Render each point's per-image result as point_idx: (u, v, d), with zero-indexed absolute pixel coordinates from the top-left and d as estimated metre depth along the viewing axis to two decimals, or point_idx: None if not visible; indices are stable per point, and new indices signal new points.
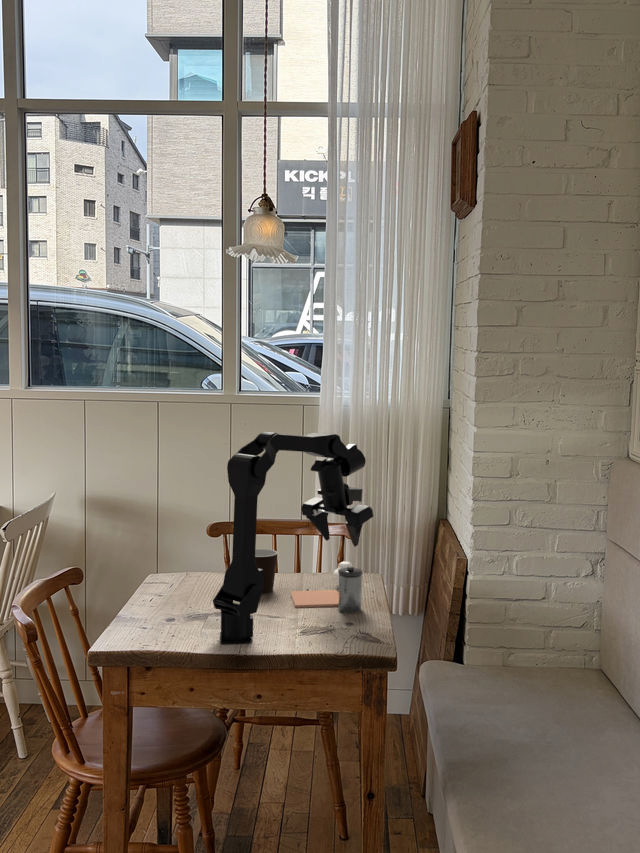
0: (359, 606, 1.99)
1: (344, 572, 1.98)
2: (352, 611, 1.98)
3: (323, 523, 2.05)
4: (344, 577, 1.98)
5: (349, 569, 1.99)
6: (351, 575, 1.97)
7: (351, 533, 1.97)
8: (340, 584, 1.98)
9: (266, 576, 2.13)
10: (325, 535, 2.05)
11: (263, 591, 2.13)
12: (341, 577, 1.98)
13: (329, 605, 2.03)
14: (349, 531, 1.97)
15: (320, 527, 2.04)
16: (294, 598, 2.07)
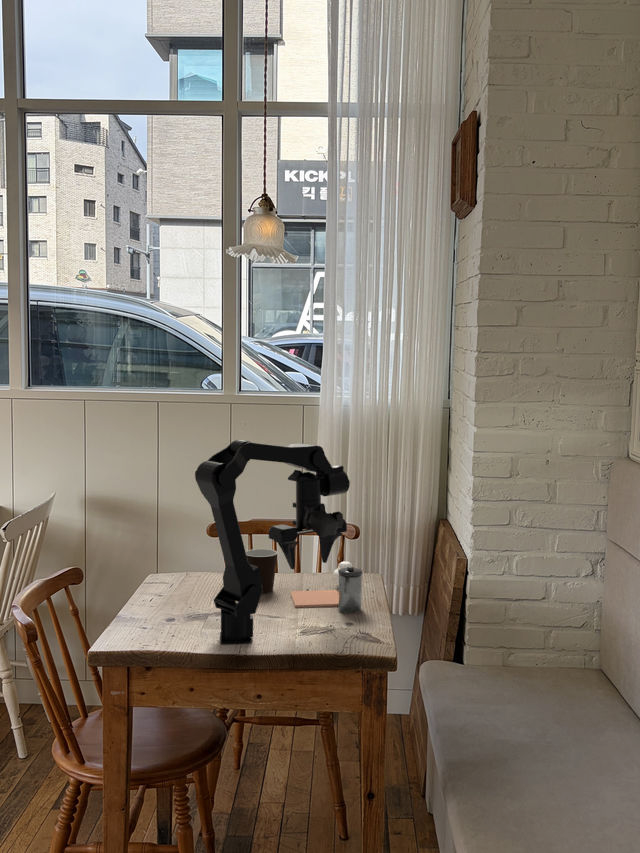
0: (359, 606, 1.99)
1: (344, 572, 1.98)
2: (352, 611, 1.98)
3: (324, 543, 1.94)
4: (344, 577, 1.98)
5: (349, 569, 1.99)
6: (351, 575, 1.97)
7: None
8: (340, 584, 1.98)
9: (266, 576, 2.13)
10: (322, 555, 1.94)
11: (263, 591, 2.13)
12: (341, 577, 1.98)
13: (329, 605, 2.03)
14: None
15: (320, 544, 1.95)
16: (294, 598, 2.07)
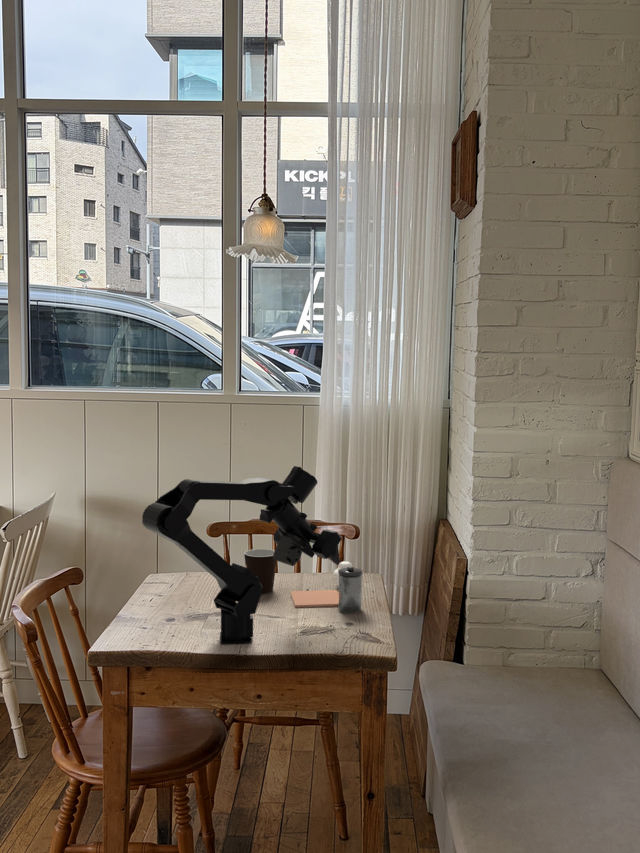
0: (359, 606, 1.99)
1: (344, 572, 1.98)
2: (352, 611, 1.98)
3: None
4: (344, 577, 1.98)
5: (349, 569, 1.99)
6: (351, 575, 1.97)
7: None
8: (340, 584, 1.98)
9: (266, 576, 2.13)
10: None
11: (263, 591, 2.13)
12: (341, 577, 1.98)
13: (329, 605, 2.03)
14: None
15: None
16: (294, 598, 2.07)
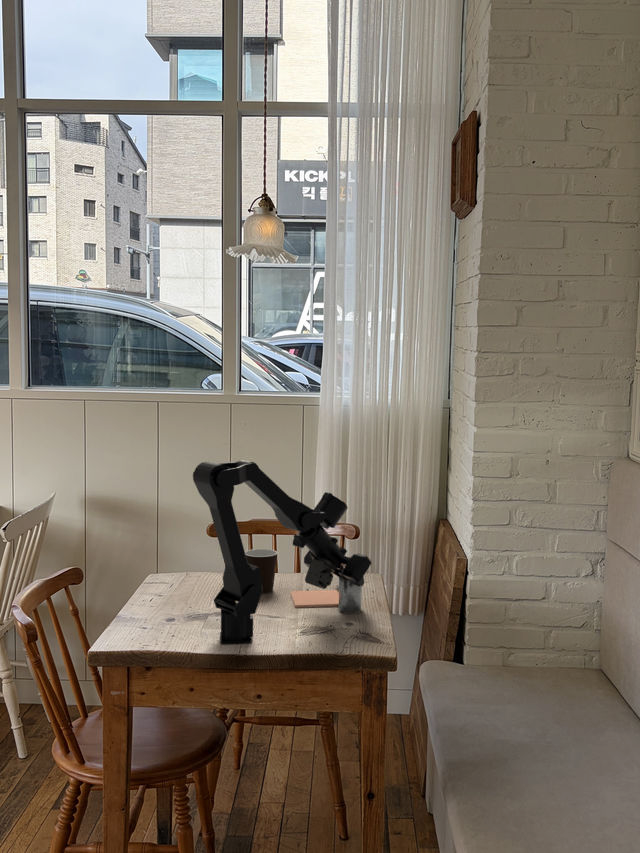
0: (359, 606, 1.99)
1: None
2: (352, 611, 1.98)
3: None
4: None
5: None
6: None
7: None
8: (341, 584, 1.98)
9: (266, 576, 2.13)
10: None
11: (263, 591, 2.13)
12: (341, 577, 1.98)
13: (329, 605, 2.03)
14: None
15: None
16: (294, 598, 2.07)
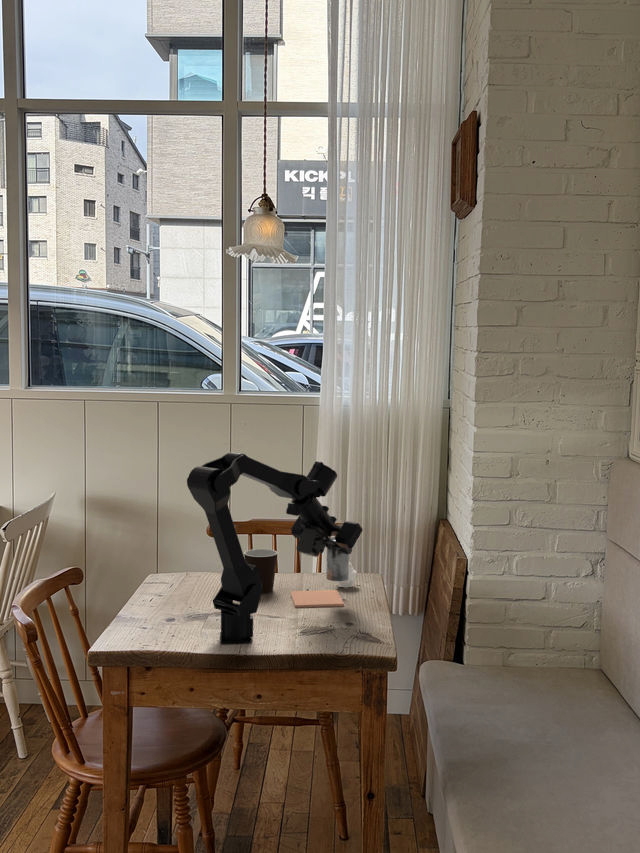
0: (347, 574, 2.02)
1: (333, 541, 2.01)
2: (341, 579, 2.01)
3: None
4: (333, 545, 2.00)
5: None
6: None
7: None
8: (329, 552, 2.01)
9: (266, 576, 2.13)
10: None
11: (263, 591, 2.13)
12: (329, 546, 2.01)
13: (329, 605, 2.03)
14: None
15: None
16: (294, 598, 2.07)
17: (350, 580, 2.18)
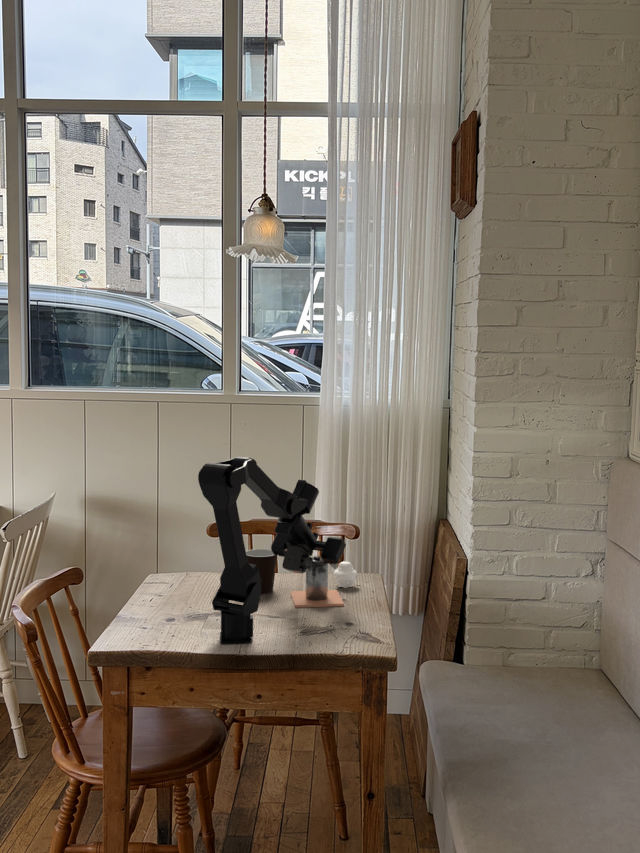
0: (326, 593, 2.08)
1: (313, 561, 2.06)
2: (321, 598, 2.06)
3: None
4: (314, 566, 2.05)
5: (317, 558, 2.07)
6: (321, 563, 2.05)
7: None
8: (310, 573, 2.06)
9: (266, 576, 2.13)
10: None
11: (263, 591, 2.13)
12: None
13: (329, 605, 2.03)
14: None
15: None
16: (294, 598, 2.07)
17: (350, 580, 2.18)
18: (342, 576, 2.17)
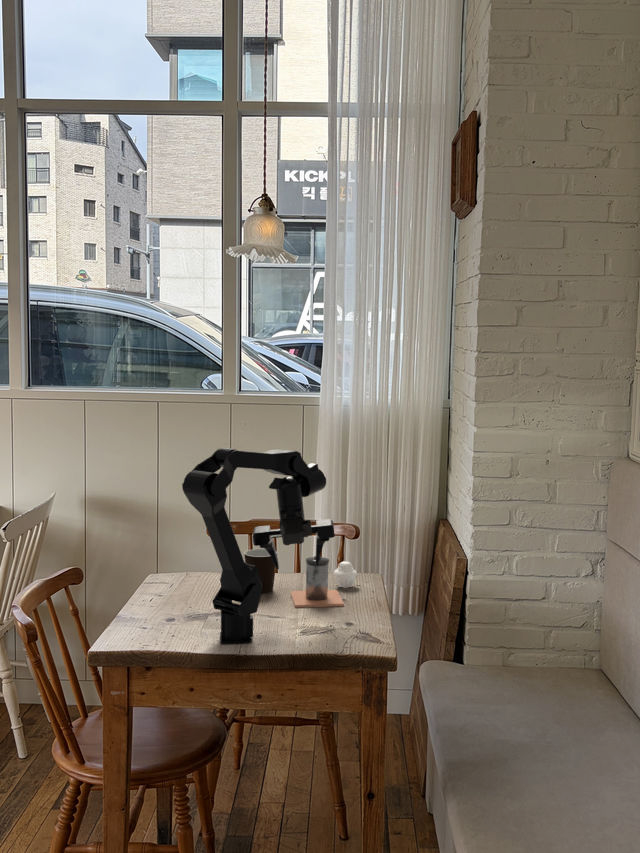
0: (327, 593, 2.08)
1: (314, 561, 2.06)
2: (322, 598, 2.06)
3: None
4: (314, 566, 2.05)
5: None
6: (322, 563, 2.05)
7: None
8: (310, 572, 2.06)
9: (266, 576, 2.13)
10: None
11: (263, 591, 2.13)
12: (310, 566, 2.06)
13: (329, 605, 2.03)
14: None
15: None
16: (294, 598, 2.07)
17: (350, 580, 2.18)
18: (342, 576, 2.17)
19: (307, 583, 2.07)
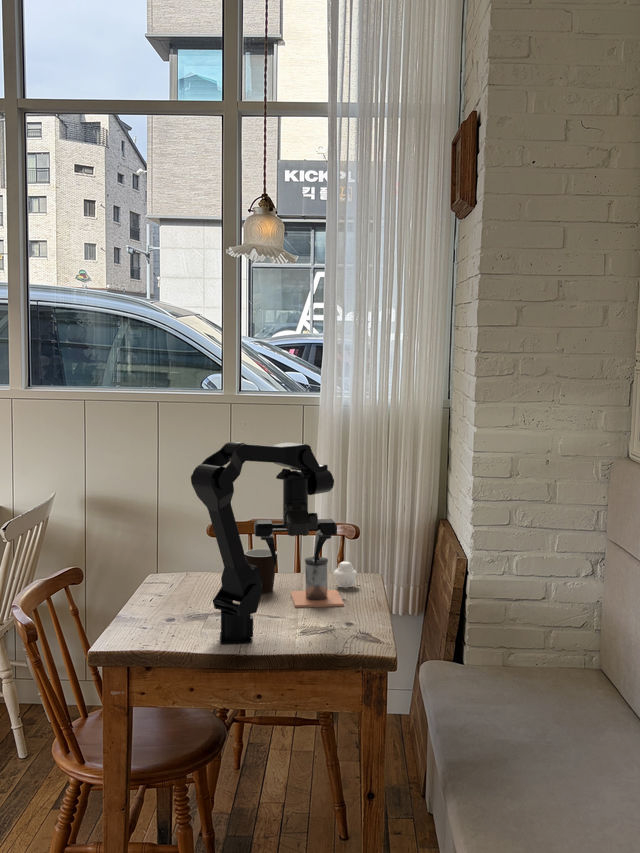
0: (326, 592, 2.08)
1: (313, 561, 2.06)
2: (322, 597, 2.06)
3: (315, 544, 1.92)
4: (314, 565, 2.05)
5: None
6: (321, 563, 2.05)
7: None
8: (310, 572, 2.06)
9: (266, 576, 2.13)
10: None
11: (263, 591, 2.13)
12: (310, 566, 2.06)
13: (329, 605, 2.03)
14: None
15: None
16: (294, 598, 2.07)
17: (350, 580, 2.18)
18: (342, 576, 2.17)
19: (307, 583, 2.07)
